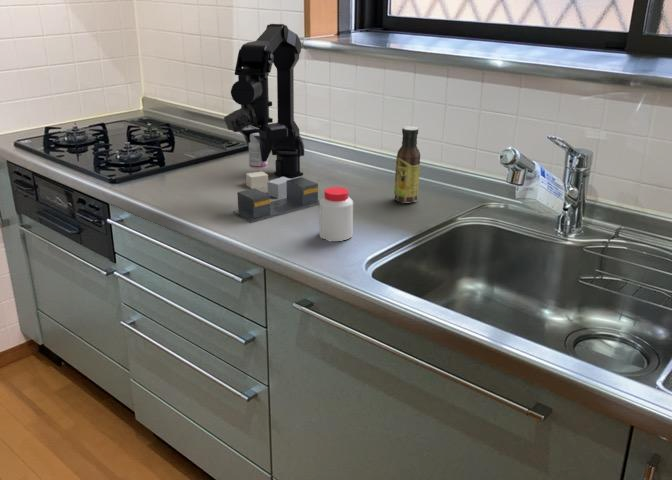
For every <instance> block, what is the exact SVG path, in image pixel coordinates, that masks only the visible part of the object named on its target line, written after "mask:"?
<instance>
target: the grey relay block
mask: <svg viewBox="0 0 672 480" xmlns="http://www.w3.org/2000/svg"><path fill="white" fill-rule="evenodd" d="M291 179H292V178H286V177H281V176H279V177H278V178H274V179H271V180H268V182H267V183H268V187H267V194H268V195H270V197H272V198H275V199H277V200H280V199H282V198H283V197H287V187H286V181H287V180H291Z"/></svg>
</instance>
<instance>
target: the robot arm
mask: <svg viewBox="0 0 672 480" xmlns="http://www.w3.org/2000/svg"><path fill="white" fill-rule="evenodd" d="M301 53H302V42H301V39H300V37H299V36H298V34H297V33H295V32H294V31H292V30H291V29H289V26H287V24H284V23H269V24H267V25H266V29H265V30H264V31H263V32H262V34H260V36H259V37H258V38H256V40H255V41H249V42H246V43H244V44H242V45H241V47H240V48H239V50H238V53H237V59H236V63H235V69H234V76H238V77H237V78H238V79H237V81H235V82H234V83H233V84H232V87H231V88H230V95H231V98H232V100H233V101H234V102H235V103H236V104H238V105H240V108H239V109H236V110H233V111H232V112H231V113H229V114H227V115H225V116H224V117H223V120H224V122H225V125H226V127H227V130H228V131H233V133H240V134H241V135H242V136H243V137H244V140H245V143H246V145H247V147H248V149H249V142H250V134H252V133H259V135H260V136H254V137H255V138H256V139H257V140H258V141H259V143H260V151H261V158H262V161H263V162H265V161H267V159H268V160H269V156H270V155H272V156H276V160H275V171H274V172H273V174H274V175H277V176H279V177H286V178H290V179H292V178H295V177H300V176H303V175H304V173H303V172H302V171H301V159H300V158H301V157H304V156H305V145H304V142H303V139H302V137H301V136H300V128H299V127H298V125H297V123H296V121H295V117H294V116H295V114H294V113H295V112H294V111H295V107H294V106H295V103H294V101H295V99H294V98H295V97H294V96H295V93H294V90H295V89H294V88H295V87H294V85H295V83H294V75H295V74H294V68H295V67H296V65H297V64H298V62H299V60H300V54H301ZM273 65H274V67H275V69H276V83H277V84H276V93H277V95H276V96H277V101H276V103H277V108H276V109H277V122H274V121H273V117H270V107H272V106H273V101H271V100H270V99H269V76H270V75H269V74H270V73H271V71H272V68H273ZM273 122H274V123H273Z"/></svg>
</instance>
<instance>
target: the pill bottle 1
mask: <svg viewBox="0 0 672 480" xmlns="http://www.w3.org/2000/svg"><path fill="white" fill-rule="evenodd" d="M254 136H260V135H259V133H252V134H250V142H249V148H248V159H249V160H248V165H249V168H250V169H254V170H263V169H267V168H268V167H269V158H268V159H267V161H265V162H263V161H262V158H261V151H260V143H259V141H258V140H257V139H256V138H255V137H254Z"/></svg>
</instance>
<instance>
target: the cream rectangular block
mask: <svg viewBox="0 0 672 480" xmlns="http://www.w3.org/2000/svg"><path fill="white" fill-rule="evenodd" d="M245 177H246V179H245V180H246V187H248V188H249V189H253V188H255V189H261V188H262V189H263V188H268V183H267V182H268V181H269V174H267V173H266V172H264V171H254V172H248V173H246V174H245Z"/></svg>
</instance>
